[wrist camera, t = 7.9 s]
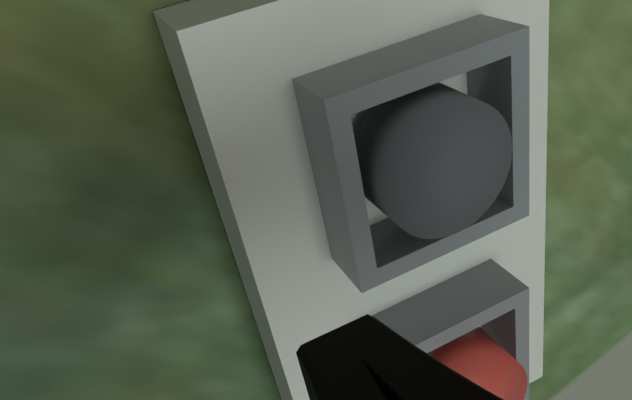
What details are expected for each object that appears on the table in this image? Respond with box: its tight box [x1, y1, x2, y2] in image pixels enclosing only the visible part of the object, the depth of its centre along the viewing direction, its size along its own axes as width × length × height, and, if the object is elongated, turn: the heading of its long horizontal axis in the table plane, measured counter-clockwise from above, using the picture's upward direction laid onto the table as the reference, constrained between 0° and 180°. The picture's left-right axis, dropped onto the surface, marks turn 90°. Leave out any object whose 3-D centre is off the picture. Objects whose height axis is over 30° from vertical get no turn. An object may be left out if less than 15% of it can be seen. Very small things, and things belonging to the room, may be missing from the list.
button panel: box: [153, 0, 549, 400], centre depth 20 cm, size 11×19×5 cm, turn 12°
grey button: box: [354, 82, 512, 239], centre depth 17 cm, size 4×4×2 cm
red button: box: [427, 327, 528, 400], centre depth 21 cm, size 4×4×2 cm
